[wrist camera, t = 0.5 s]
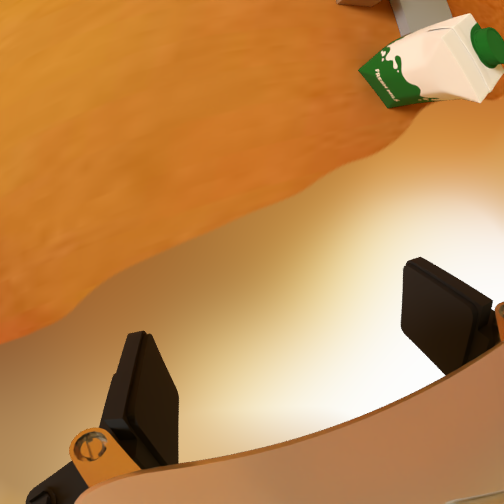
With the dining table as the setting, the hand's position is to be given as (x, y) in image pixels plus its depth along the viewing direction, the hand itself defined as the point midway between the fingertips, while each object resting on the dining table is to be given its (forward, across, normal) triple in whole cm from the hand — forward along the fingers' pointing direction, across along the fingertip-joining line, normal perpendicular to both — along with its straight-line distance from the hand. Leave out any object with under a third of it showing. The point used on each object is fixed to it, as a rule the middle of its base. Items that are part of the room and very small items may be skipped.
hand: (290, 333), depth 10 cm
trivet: (+30, -37, -26) cm, 54 cm away
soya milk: (+30, -26, -13) cm, 42 cm away
